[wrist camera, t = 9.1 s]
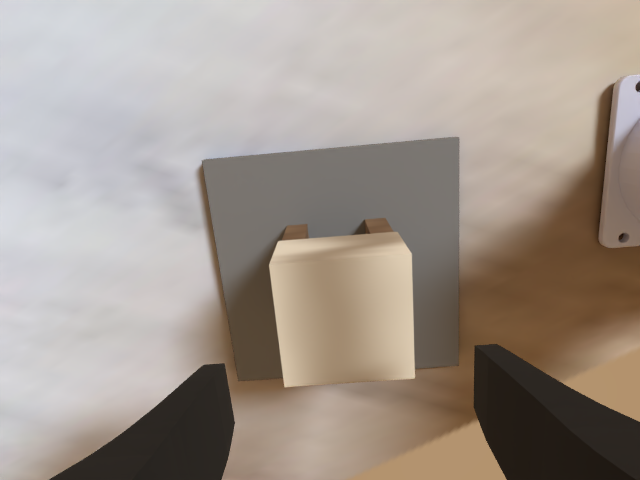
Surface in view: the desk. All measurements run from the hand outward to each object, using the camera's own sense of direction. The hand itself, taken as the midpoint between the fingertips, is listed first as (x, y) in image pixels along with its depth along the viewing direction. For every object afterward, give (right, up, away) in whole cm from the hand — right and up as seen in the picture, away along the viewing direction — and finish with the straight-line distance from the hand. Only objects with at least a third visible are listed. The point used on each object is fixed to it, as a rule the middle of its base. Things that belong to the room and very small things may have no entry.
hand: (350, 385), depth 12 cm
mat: (0, +3, +10) cm, 10 cm away
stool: (0, +3, +9) cm, 10 cm away
